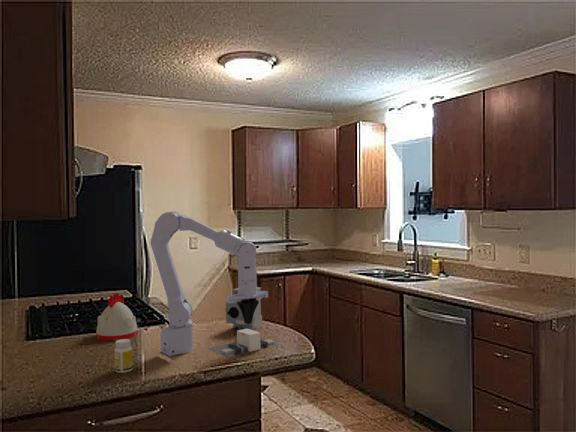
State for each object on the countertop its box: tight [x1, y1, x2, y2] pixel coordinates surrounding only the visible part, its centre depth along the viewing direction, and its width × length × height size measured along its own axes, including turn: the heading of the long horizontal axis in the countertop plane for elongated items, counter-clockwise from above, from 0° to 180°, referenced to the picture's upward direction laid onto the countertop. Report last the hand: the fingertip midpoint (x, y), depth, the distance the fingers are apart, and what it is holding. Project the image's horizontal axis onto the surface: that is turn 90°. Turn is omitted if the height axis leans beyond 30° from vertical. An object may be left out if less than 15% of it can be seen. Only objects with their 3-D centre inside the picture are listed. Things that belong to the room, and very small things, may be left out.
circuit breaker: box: [224, 286, 263, 330], centre depth 189 cm, size 8×14×15 cm, turn 152°
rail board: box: [206, 337, 281, 358], centre depth 166 cm, size 20×12×2 cm, turn 129°
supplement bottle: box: [114, 338, 134, 374], centre depth 147 cm, size 5×5×8 cm
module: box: [236, 328, 261, 353], centre depth 164 cm, size 4×7×5 cm, turn 39°
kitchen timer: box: [95, 292, 139, 341], centre depth 185 cm, size 14×14×15 cm
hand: (248, 323), depth 164 cm, fingers closed
